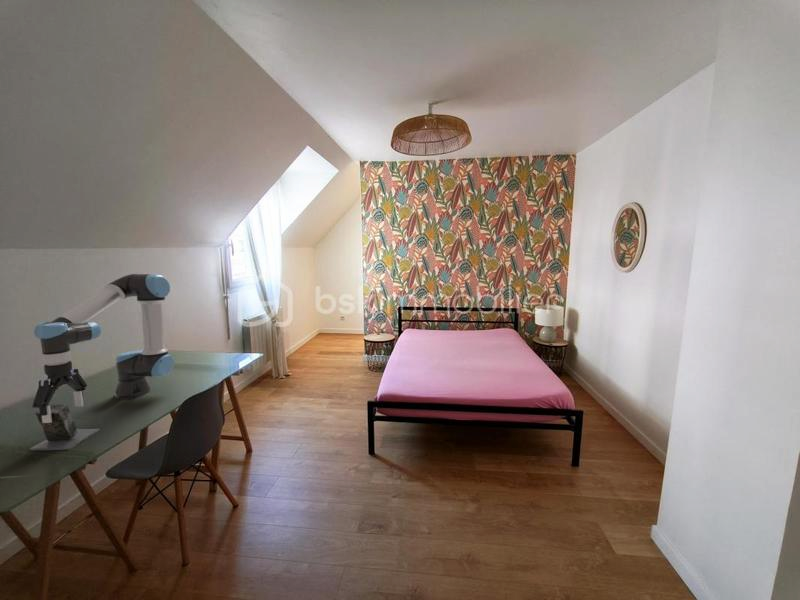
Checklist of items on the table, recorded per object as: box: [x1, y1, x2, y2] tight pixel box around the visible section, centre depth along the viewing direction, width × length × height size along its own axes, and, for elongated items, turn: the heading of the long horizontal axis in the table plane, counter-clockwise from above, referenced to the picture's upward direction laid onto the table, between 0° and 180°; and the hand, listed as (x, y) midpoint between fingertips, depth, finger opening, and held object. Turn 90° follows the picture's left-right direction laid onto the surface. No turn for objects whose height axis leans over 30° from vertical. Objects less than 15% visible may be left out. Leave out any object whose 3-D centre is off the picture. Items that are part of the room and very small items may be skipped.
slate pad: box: [29, 428, 101, 451], centre depth 132 cm, size 14×14×1 cm
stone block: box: [34, 403, 78, 441], centre depth 129 cm, size 9×14×5 cm
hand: (64, 413), depth 131 cm, fingers open, 13 cm apart
